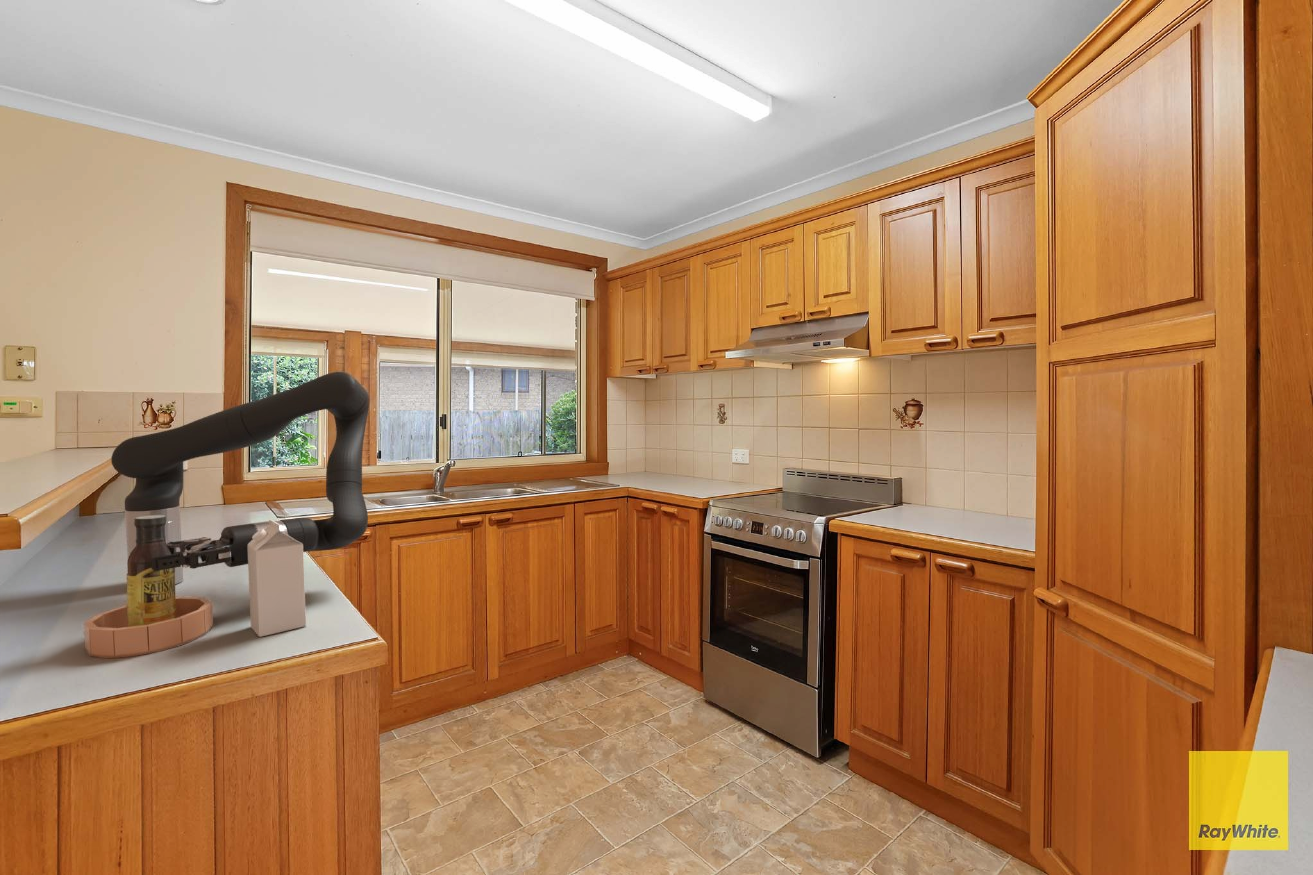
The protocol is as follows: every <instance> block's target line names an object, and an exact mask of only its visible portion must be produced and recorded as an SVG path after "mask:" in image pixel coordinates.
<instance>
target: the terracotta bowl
mask: <svg viewBox="0 0 1313 875" xmlns="http://www.w3.org/2000/svg"><path fill="white" fill-rule="evenodd" d="M175 603H176V618H174V619H170V620H165V621H161V622H157V623H152V624H148V625H140V626H131V627H128V623H127V605H123V606H120V607H117V608H114V609H110V610H107V611H104V612H102V613H99V614H96V615H94V616H93V617H91V618H90V619H88V620H87V621H85V622H84V623H83V630H84V645H85V646H84V647H85V649H86V651H87V652H86V653H87V654H88V656H91V657H94V658H98V659H118V658H119V659H121V658H128V657H129V658H131V657H135V656H137V657H138V656H142V655H143V656H144V655H148V654H153V653H158V652H162V651H166V650H169V649H173V648H172V647H174V648H176V646H177V647H179V646H178V645H180V646H182V645H185V644H189V643H191V642H193V641H195V639H196V640H197V638H198V639H199V638H202V637H204V636H205V635H207V634H209V632H210V631H211V630H210V629H212V626H213V625H214V618H213V616H214V615H213V601H211V600H209V599H208V598H206V597H200V596H177V597H176V596H175ZM208 631H209V632H208ZM206 633H207V634H206ZM203 635H204V636H203ZM201 636H202V637H201ZM188 642H189V643H188Z"/></svg>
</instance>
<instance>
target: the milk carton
mask: <svg viewBox="0 0 1313 875" xmlns="http://www.w3.org/2000/svg"><path fill="white" fill-rule="evenodd" d="M268 521H269V526H268V527H267V528H265V529H264V530H263V529H261V530H259V531H258V532H256V533H255V534H254V535H253V537H252V539H253V540H252V541H251V542H250V543H248V564H247V566H248V569H247V570H248V571H247V572H248V590H249V612H250V614H249V616H250V627H251V629H252V630H253V631H254V632H255V633H256V635H257V636H258V637H259V638H260V637H265V636H269V635H274V634H279V633H283V632H286V631H290V630H291V631H292V630H295V629H299V628H304V627H306V626H307V617H306V614H307V612H306V589H305V587H306V586H305V562H304V552H303V544H302V543H300V542H299V541H297V540H295V539H294V538H292V537H290V536H288V535H287V534H285V533H283V532H282V531H280V524H278V523H276V522H274V521H275V520H273V519H271V518H270V519H268Z"/></svg>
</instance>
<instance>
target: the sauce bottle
mask: <svg viewBox="0 0 1313 875" xmlns="http://www.w3.org/2000/svg"><path fill="white" fill-rule="evenodd" d="M134 521H135V522H134V525H135V527H136V547H135V548H134V549H133V550H132V552H131V553H130V555H129V558H128V557H127V561H126V562H127V573H126V598H127V599H126V606H127V623H128V627H131V626H140V625H148V624H152V623H157V622H161V621H165V620H170V619H174V618H176V603H175V598H176V584H175V568H171V569H165V570H159V571H154V570H152V568H151V559H152V558H154V557H159V556H165V555H171V553H170V551H169V549H168V547H167V544H166V541H165V540H166V538H165V524H166V517H165V516H164V515H152V516H142V517H136V518H135V520H134Z"/></svg>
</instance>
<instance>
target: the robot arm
mask: <svg viewBox="0 0 1313 875" xmlns="http://www.w3.org/2000/svg"><path fill="white" fill-rule="evenodd" d="M323 410H327V411H328V412H329V413H330V414H331V415H332V416H333V418H334V419H333V420H334V424H335V429H336V432H335V433H336V435H335V441H334V444H333V448H332V449H331V451H330V454H329V456H328V459H327V464H326V471H325V494H326V499H327V500H328V501H329V502H331V503H332V509H333V511H332V512H333V513H332V516H330V517H327V518H322V519H311V518H309V517H296V518H289V519H282V520H273V521H274V522H276V523H278V524H280V531H282V532H283V533H285V534H287V535H288V536H290V537H292V538H294V539H295V540H297V541H299V542H300V543H302V544H303V553H306V552H319V551H320V552H321V551H331V550H338V549H342V548H345V547H348V546H349V545H351V544H352V543H354V542H356V541H358V540H359V539H360V538H362V537H363V535H364V534H366V531H367V529H368V523H369V515H368V514H369V513H368V509H367V505H366V501H365V498H364V495H363V451H364V450H363V448H364V439H365V434H366V433H365V432H366V425H367V420H368V416H369V410H370V395H369V393H368V391H367V389H366V388H365V387H364V386H363V385H362V384H361V383H360V382H359V381H358V380H357V379H356V378H355V377H354V376H353V375H351V374H350V373H348V372H346V371H345V372H344V371H334V372H329V373H326V374H323V375H321V376H318V377H316V378H314V379H310V380H309V381H307V382H305V383H301V384H300V385H297V386H294V387H293V388H290V389H286V390H283V391H281V392H278V393H275V394H272V395H269V396H265V397H263V398H260V399H257V400H256V399H255V400H252V401H249V402H248V401H247V402H246V403H242V404H239V405H236V406H233V407H230V408H227V409H223V410H221V411H218V412H215V413H213V414H209V415H207V416H204V417H202V418H199V419H196V420H194V421H191V422H189V423H187V424H184V425H181V426H178V427H175V428H171V429H168V430H163V431H158V432H155V433H154V432H153V433H150V434H145V435H139V436H133V437H130V438H129V437H128V439H125V440H124V441H122V442H121V443H119V444H118V445H117V446H116V447H115V449H114V450H113V452H112V454H111V461H110V462H111V465H112V467H113V469H114V470H115V471H116V472H118V473H119V474H120V475H123V476H125V477H126V478H132V479H135V484H134V487H133V489H132V490H131V492H130V493H129V494H128V495H127V496H126V497H125V499H124V517H125V534H126V551H127V552H126V553H127V559H128V558H129V555H130V553H131V552H132V550H133V549H134V548H135V547H136V527H135V525H134V522H135V521H134V520H135V518H136V517H142V516H152V515H164V516H165V517H166V524H165V538H166V540H165V541H166V544H167V547H168V549H169V551H170V553H171V555H165V556H159V557H154V558H152V559H151V568H152V570H154V571H159V570H165V569H171V568H175V585H177V584H180V583H182V582H183V581H184V570H183V569H184V568H185V569H187V568H190V569H197V568H201V567H208V566H213V565H217V564H223V563H224V564H225V565H226V567H228V568H235V567H240V566H244V565H246V566H247V565H248V543H250V542H251V541H252V540H253V539H252V537H253V535H254V534H255V533H256V532H258V531H259V530H261V529H263V530H264V529H265V528H267V527H268V526H269V520H267V521H259V522H253V523H252V522H251V523H245V524H244V523H243V524H238V525H230V526H226V527H224V528H223V529H222V530H221V532H220V538H219V539H212V538H211V537H206V536H205V537H199V538H193V539H192V538H191V539H184V540H182V528H181V524H182V523H181V510H180V508H181V507H180V504H181V503H180V501H181V500H180V499H181V496H182V494H183V491H184V462H187V461H190V460H193V459H197V458H201V457H208V456H213V455H218V454H219V455H220V454H223V453H228V452H232V451H237V450H241V449H244V448H247V447H250V446H254V445H256V444H260V443H264V442H266V441H268V440H271V439H273V438H274V437H276V436H277V435H279V434H280V433H281V432H282V431H283V430H284V429H286V427H288V426H289V425H290V424H291V423H292V422H294V420H297V419H298V418H301V417H303V416H305V415H308V414H312V413H315V412H318V411H323Z"/></svg>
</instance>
